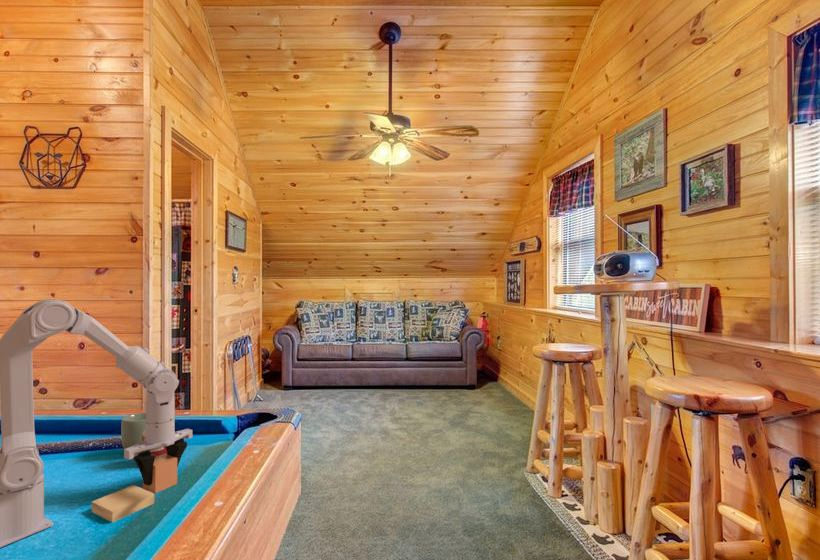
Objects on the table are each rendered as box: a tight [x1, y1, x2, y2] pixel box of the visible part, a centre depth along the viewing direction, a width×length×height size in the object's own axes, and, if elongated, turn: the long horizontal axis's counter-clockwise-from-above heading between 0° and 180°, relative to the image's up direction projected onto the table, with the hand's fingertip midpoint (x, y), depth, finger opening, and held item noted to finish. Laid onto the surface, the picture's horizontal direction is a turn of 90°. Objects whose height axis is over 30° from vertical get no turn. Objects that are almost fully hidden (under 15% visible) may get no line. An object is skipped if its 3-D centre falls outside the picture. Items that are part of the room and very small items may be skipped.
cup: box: [120, 411, 146, 451], centre depth 113 cm, size 8×8×10 cm
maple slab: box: [91, 484, 155, 523], centre depth 85 cm, size 8×8×2 cm
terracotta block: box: [142, 454, 178, 494], centre depth 95 cm, size 5×5×6 cm
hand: (160, 478), depth 95 cm, fingers closed on terracotta block, 5 cm apart
